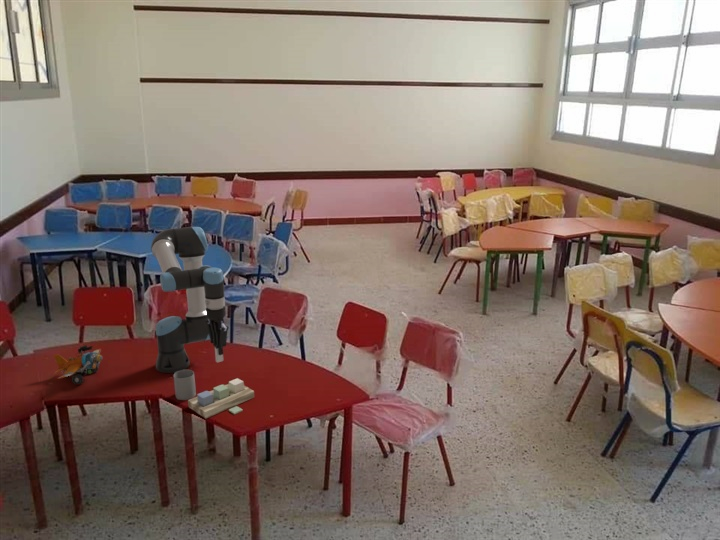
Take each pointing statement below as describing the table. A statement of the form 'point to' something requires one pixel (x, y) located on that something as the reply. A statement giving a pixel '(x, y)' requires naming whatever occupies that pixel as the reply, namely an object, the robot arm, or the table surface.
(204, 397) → the button blue
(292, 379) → the table surface
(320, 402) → the table surface
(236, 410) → the tile
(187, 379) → the cup
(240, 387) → the button cream
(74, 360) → the toy airplane
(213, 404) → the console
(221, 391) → the button sage
